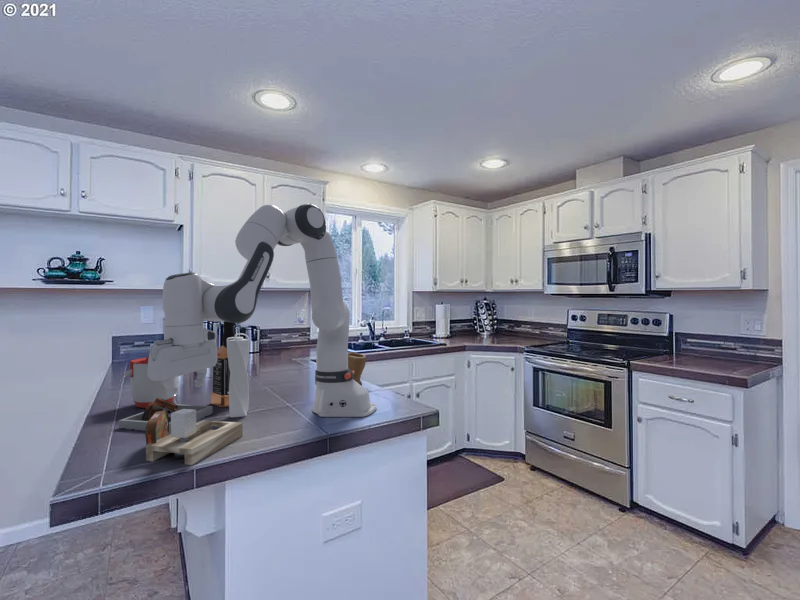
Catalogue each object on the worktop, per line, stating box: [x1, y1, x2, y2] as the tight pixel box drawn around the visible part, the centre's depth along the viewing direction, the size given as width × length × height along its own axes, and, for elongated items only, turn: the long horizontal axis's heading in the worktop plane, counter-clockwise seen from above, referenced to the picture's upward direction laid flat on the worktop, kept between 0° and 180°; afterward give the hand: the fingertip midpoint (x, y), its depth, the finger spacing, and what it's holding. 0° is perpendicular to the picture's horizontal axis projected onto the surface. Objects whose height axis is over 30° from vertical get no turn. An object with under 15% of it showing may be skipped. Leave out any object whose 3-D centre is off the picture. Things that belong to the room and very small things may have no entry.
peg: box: [170, 409, 197, 459], centre depth 100 cm, size 4×4×11 cm
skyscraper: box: [227, 332, 251, 418], centre depth 133 cm, size 8×8×28 cm
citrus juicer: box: [123, 355, 179, 409], centre depth 147 cm, size 16×17×20 cm
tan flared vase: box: [348, 352, 367, 387], centre depth 174 cm, size 15×12×15 cm
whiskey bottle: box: [210, 321, 236, 408], centre depth 149 cm, size 10×10×32 cm
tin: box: [144, 410, 170, 446], centre depth 104 cm, size 15×3×8 cm, turn 20°
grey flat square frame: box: [118, 403, 213, 433], centre depth 128 cm, size 18×19×2 cm
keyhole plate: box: [145, 419, 244, 466], centre depth 105 cm, size 13×20×4 cm, turn 168°
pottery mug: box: [141, 398, 178, 421], centre depth 127 cm, size 12×10×8 cm
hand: (186, 391), depth 100 cm, fingers open, 8 cm apart
